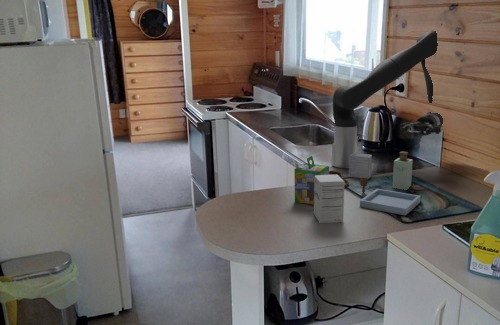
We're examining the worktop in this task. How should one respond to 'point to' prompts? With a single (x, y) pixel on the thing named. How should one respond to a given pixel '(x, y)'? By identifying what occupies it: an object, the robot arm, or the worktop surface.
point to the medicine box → (360, 165)
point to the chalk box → (307, 180)
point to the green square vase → (402, 174)
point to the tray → (390, 201)
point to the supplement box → (328, 198)
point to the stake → (403, 156)
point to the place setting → (362, 181)
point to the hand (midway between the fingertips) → (415, 131)
